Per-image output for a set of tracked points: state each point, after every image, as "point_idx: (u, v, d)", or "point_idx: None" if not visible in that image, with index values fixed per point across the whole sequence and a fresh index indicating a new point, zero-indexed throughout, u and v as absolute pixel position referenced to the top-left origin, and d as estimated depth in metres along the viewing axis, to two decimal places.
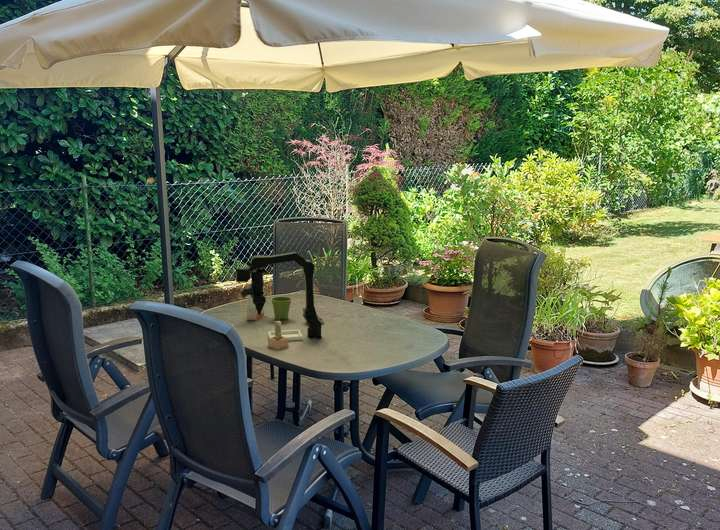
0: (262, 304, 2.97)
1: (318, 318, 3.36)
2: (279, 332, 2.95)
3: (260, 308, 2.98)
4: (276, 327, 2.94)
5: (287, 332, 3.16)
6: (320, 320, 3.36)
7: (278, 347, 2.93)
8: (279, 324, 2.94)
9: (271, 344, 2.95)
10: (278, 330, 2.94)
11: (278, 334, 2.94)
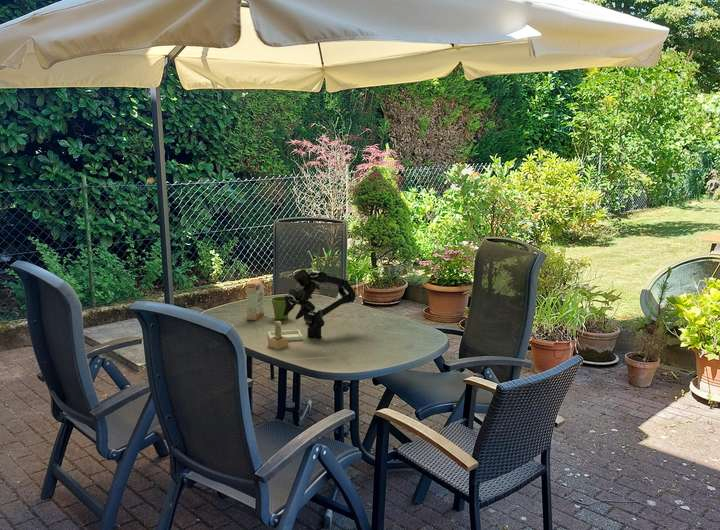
0: (306, 312, 2.98)
1: None
2: (279, 332, 2.95)
3: (302, 314, 2.97)
4: (276, 327, 2.94)
5: (287, 332, 3.16)
6: None
7: (278, 347, 2.93)
8: (279, 324, 2.94)
9: (271, 344, 2.95)
10: (278, 330, 2.94)
11: (278, 334, 2.94)
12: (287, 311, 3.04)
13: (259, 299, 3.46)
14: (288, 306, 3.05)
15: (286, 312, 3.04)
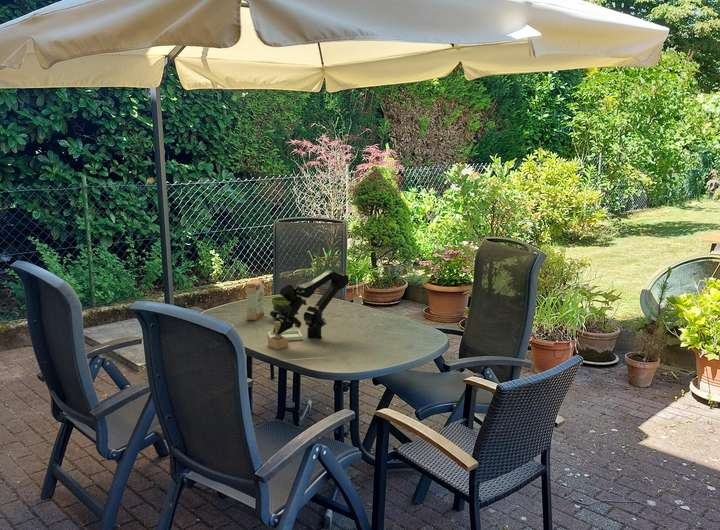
0: (288, 327, 2.95)
1: None
2: None
3: (284, 329, 2.95)
4: (276, 327, 2.94)
5: (287, 332, 3.16)
6: None
7: (278, 347, 2.93)
8: (279, 324, 2.94)
9: (271, 344, 2.95)
10: (278, 330, 2.94)
11: None
12: None
13: (259, 299, 3.46)
14: None
15: None
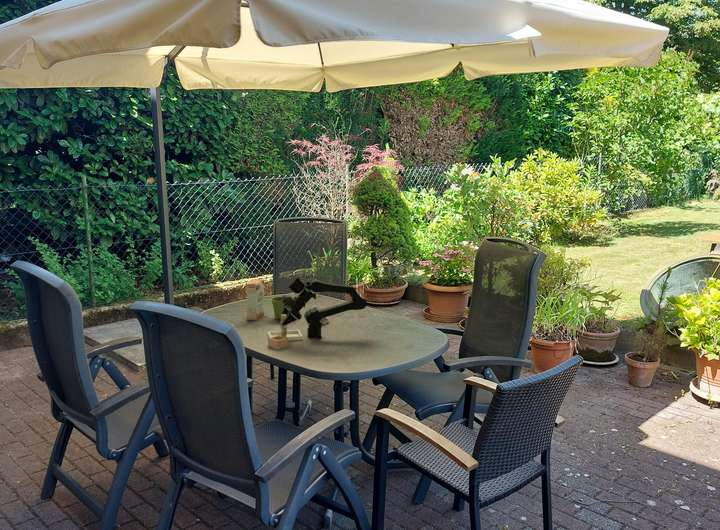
0: (293, 320, 3.02)
1: (323, 318, 3.36)
2: None
3: (288, 321, 3.02)
4: (281, 320, 3.05)
5: (287, 332, 3.16)
6: (325, 320, 3.37)
7: (278, 347, 2.93)
8: (284, 317, 3.05)
9: (271, 344, 2.95)
10: None
11: (282, 327, 3.06)
12: None
13: (259, 299, 3.46)
14: (284, 312, 3.11)
15: None
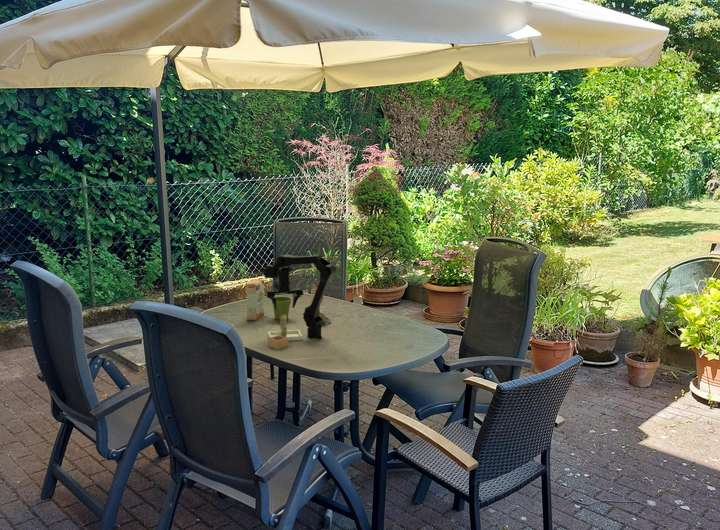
0: None
1: (325, 318, 3.37)
2: (283, 325, 3.06)
3: (273, 303, 3.14)
4: (280, 320, 3.06)
5: (287, 332, 3.16)
6: (327, 320, 3.37)
7: (278, 347, 2.93)
8: (283, 317, 3.05)
9: (271, 344, 2.95)
10: (282, 323, 3.05)
11: (282, 327, 3.06)
12: (293, 303, 3.18)
13: (259, 299, 3.46)
14: (293, 298, 3.18)
15: None
